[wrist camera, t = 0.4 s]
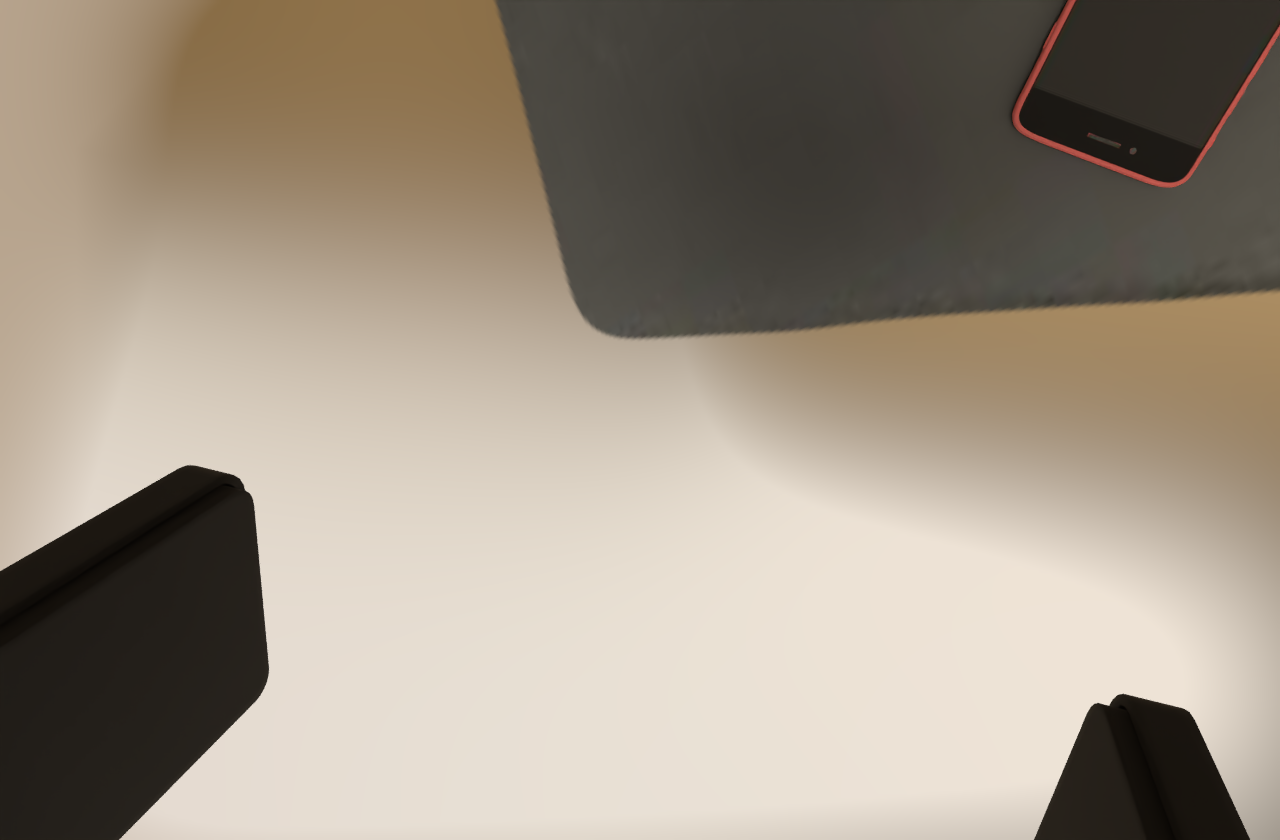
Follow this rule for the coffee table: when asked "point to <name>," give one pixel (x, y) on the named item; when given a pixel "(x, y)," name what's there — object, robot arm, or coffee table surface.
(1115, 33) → the smartphone
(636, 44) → the coffee table surface
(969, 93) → the coffee table surface
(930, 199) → the coffee table surface
